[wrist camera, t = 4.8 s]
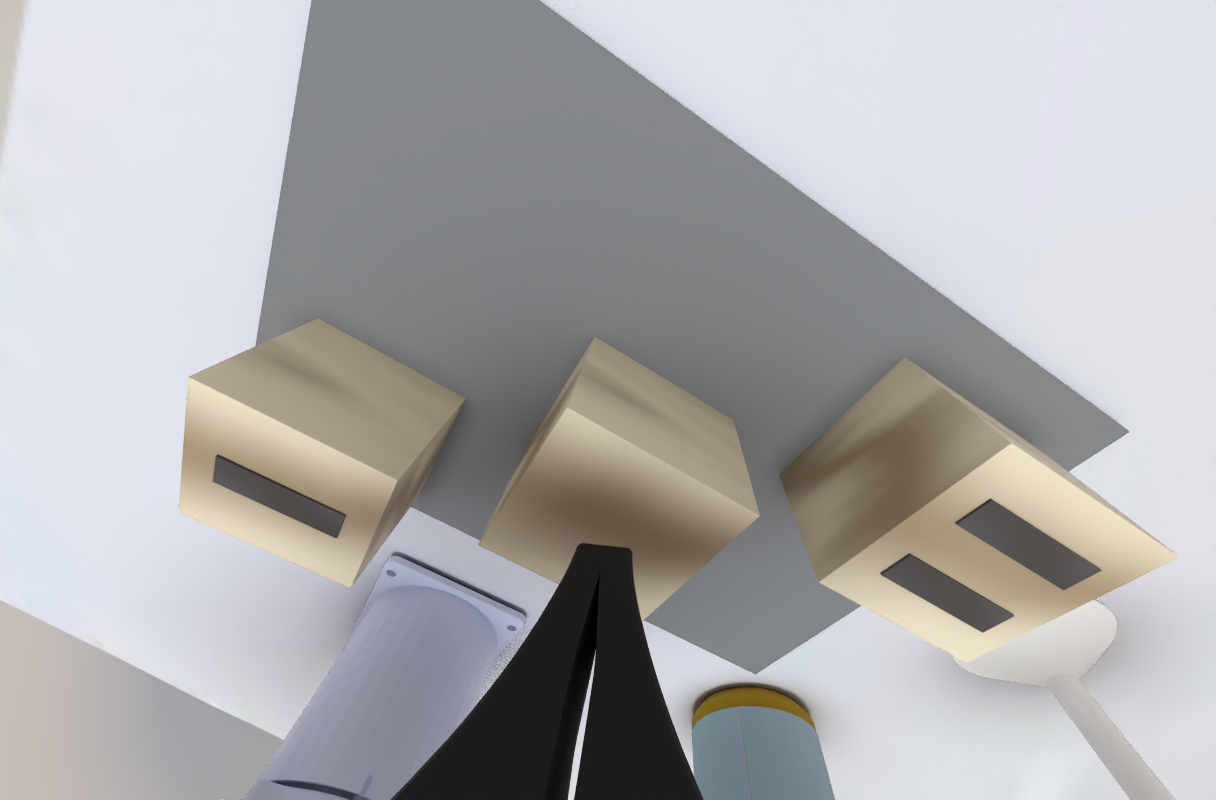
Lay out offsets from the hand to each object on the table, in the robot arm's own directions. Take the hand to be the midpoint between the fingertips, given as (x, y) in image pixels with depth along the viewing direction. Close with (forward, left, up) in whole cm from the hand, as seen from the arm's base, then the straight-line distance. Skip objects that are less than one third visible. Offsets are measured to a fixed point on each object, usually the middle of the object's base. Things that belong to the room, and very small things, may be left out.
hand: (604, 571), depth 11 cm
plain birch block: (0, 0, -7) cm, 7 cm away
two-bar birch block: (+5, -9, -6) cm, 12 cm away
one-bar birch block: (-5, +9, -6) cm, 12 cm away
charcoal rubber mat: (0, 0, -7) cm, 7 cm away
